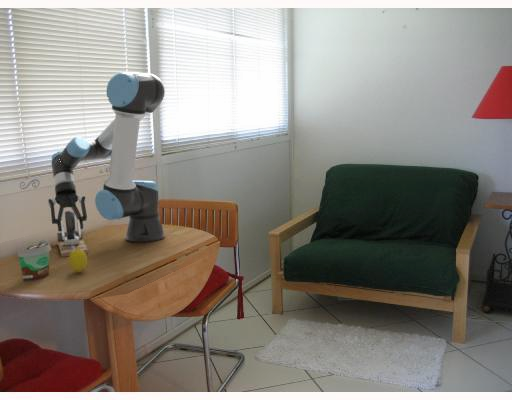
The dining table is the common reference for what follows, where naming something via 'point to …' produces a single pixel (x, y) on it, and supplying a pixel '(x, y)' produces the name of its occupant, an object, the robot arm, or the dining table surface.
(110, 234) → the dining table surface
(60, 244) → the press bench
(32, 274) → the food container
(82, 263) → the lemon
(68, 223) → the press handle
